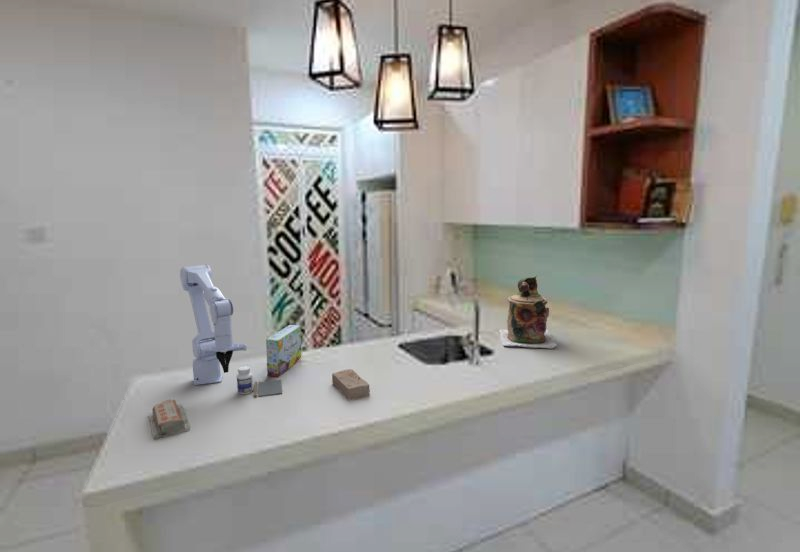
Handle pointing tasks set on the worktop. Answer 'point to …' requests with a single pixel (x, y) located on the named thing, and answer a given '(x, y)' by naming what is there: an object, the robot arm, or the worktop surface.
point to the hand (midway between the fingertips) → (226, 371)
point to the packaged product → (168, 419)
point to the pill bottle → (244, 380)
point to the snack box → (283, 350)
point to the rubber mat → (270, 388)
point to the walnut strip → (255, 389)
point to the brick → (350, 384)
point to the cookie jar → (527, 318)
